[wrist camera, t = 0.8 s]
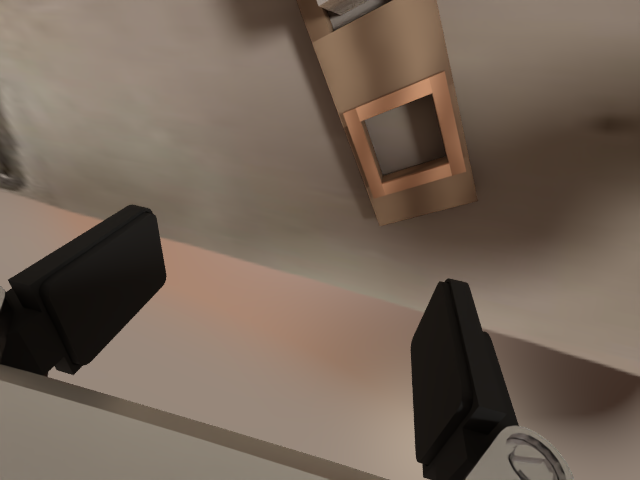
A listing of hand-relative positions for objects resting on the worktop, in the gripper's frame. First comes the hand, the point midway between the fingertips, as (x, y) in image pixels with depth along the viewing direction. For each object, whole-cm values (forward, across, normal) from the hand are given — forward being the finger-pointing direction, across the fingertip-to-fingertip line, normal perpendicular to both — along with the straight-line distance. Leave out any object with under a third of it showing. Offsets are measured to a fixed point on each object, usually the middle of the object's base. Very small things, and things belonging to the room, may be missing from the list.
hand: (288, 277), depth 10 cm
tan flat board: (+25, -1, -5) cm, 26 cm away
